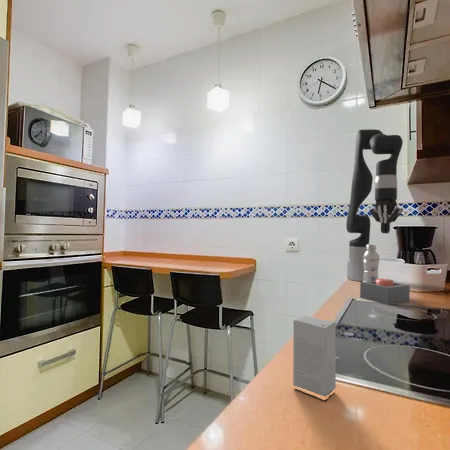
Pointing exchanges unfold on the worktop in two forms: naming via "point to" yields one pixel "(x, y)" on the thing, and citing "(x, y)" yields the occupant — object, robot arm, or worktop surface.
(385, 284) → the button
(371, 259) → the plastic bottle
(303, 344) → the skincare box
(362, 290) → the button box
